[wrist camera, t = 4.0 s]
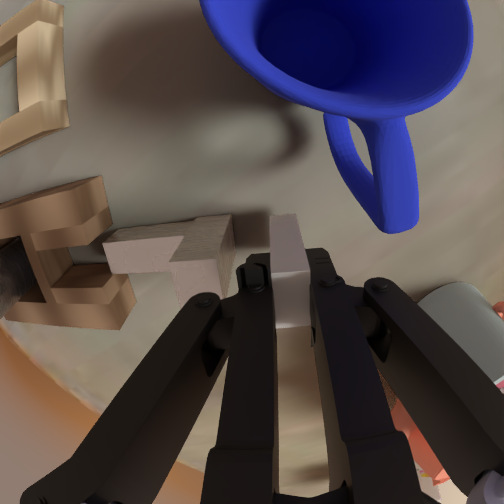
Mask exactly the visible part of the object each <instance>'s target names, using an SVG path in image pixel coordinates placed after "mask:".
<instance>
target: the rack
mask: <svg viewBox="0 0 504 504" xmlns="http://www.w3.org/2000/svg"><path fill="white" fill-rule="evenodd" d="M63 13H64V6H62V5H59V4H56V3H54V2H51V1H48V0H36V1H34V2H33V3H31V4H30V5H28V6H27V7H25V8H24V9H22V10H21V11H20V12H18V13H17V14H15V15H14V16H13V17H11V18H10V19H9V20H7V21H6V22H5V23H4V24H2V25H1V26H0V66H2V65H3V64H5V63H6V62H7V61H9V60H10V59H12V58H13V57H14V56H16V55H17V84H18V101H19V112H18V113H16V114H15V115H13V116H11V117H9V118H8V119H6V120H4V121H3V122H1V123H0V157H1V156H3V155H5V154H7V153H9V152H11V151H13V150H15V149H17V148H19V147H21V146H23V145H26V144H28V143H30V142H32V141H34V140H37V139H39V138H41V137H44V136H46V135H49V134H51V133H54V132H56V131H59V130H61V129H64V128H66V127H69V126H70V125H69V118H68V110H67V101H66V90H65V78H64V59H63Z"/></svg>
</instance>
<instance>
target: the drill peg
mask: <svg viewBox="0 0 504 504" xmlns="http://www.w3.org/2000/svg"><path fill="white" fill-rule="evenodd" d="M36 283H37V279H36V277H35V274H34V272H33V269H32V267H31V264H30V261H29V259H28V256H27V253H26V250H25V248H24V245H23V242H22V239H21V236H20V237H19V238H17V239H16V240H14V241H13V242H11V243H10V244H9V245H7V246H6V247H4V248H3V249H2V250H0V319H1V318H2V317H3V316H4V315H5V314H6V313H7V312H8V311H9V310H10V309H11V307H12V306H13V305H14V304H15V303H16V302H17V301H18V300H19V299H20V298H21V297H22V296H23V295H24V294H25V293H26V292H27V291H28V290H29V289H30V288H31V287H33V286H34V285H35V284H36Z"/></svg>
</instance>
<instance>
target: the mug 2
mask: <svg viewBox="0 0 504 504" xmlns="http://www.w3.org/2000/svg"><path fill="white" fill-rule="evenodd" d="M417 304H418V305H419V306H420V307H421V308H422V309H423V310H424V311H425V312H426V313H427V314H428V315H429V316H430V317H431V318H432V319H433V320H434V321H435V322H436V323H437V324H438V325H439V326H440V327H441V328H442V329H443V330H444V331H445V332H446V333H447V334H448V335H449V336H450V337H451V338H452V339H453V340H454V341H455V342H456V343H457V344H458V345H459V346H460V347H461V348H462V349H463V350H464V351H465V352H466V353H467V354H468V355H469V356H470V357H471V359H472V360H473V361H474V362H475V363H476V364H477V365H478V366H479V367H480V368H481V369H482V370H483V371H484V373H485V374H486V375H487V376H488V377H489V378H490V379H491V380H492V381H493V383H494V384H495V385H496V386H497V387H498V388H499V389H500V391H501V392H502V393H503V394H504V320H503V319H502V318H501V316H500V315H499V314H498V313H497V312H496V311H494V310H493V308H492V306H491V304H490V303H489V302H488V301H487V300H486V299H485V298H484V296H483V295H482V294H481V293H480V292H479V291H478V290H477V289H476V288H475V287H474V286H473V285H471V284H469V283H465V282H455V283H450V284H447V285H444V286H442V287H439V288H437V289H436V290H434V291H432V292H431V293H429V294H428V295H426V296H425V297H424V298H423V299H422V300H420V301H419V302H418V303H417Z"/></svg>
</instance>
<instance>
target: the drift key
mask: <svg viewBox="0 0 504 504" xmlns="http://www.w3.org/2000/svg"><path fill="white" fill-rule="evenodd" d="M102 244H103V247H104V251H105V254H106V257H107V260H108V263H109V266H110V269H111V272H112V274H125V273H144V272H162V271H171V274H172V278H173V282H174V286H175V290H176V293H177V297H178V301H179V304H180V308H181V309H182V307H183V306H184V305H185V303H186V302H187V301H188V300H189V299H190V298H191V297H192V296H194V295H196V294H198V293H202V292H212V293H216V294H217V295H219V297H220V300H221V299H225V298H227V293H228V288H229V283H230V279H231V274H232V269H233V265H234V260H235V255H236V247H235V240H234V232H233V225H232V217H231V214H228V215H217V216H206V217H197V218H196V219H195V221H186V222H176V223H167V224H158V225H149V226H140V227H131V228H123V229H118V230H117V231H116V232H114V233H113V234H112V235H111V236H110V237H109V238H108V239H107V240H106V241H105V242H103V243H102Z"/></svg>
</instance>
